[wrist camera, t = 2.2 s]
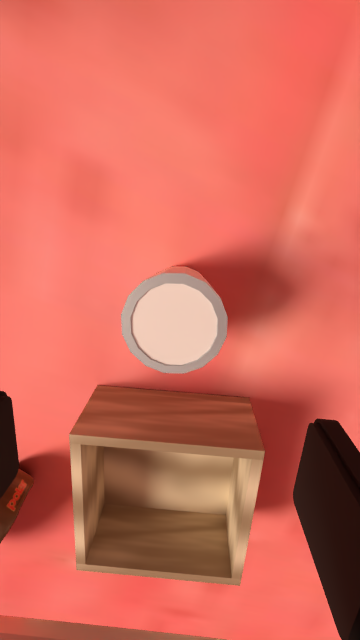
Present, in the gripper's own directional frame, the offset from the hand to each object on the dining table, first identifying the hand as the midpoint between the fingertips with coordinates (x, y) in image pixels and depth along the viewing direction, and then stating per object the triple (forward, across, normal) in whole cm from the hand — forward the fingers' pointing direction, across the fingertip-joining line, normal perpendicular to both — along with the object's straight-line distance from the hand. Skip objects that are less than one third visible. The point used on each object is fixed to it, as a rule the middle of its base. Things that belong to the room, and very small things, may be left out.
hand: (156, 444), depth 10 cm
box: (+18, 0, +16) cm, 24 cm away
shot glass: (+18, 0, 0) cm, 18 cm away
